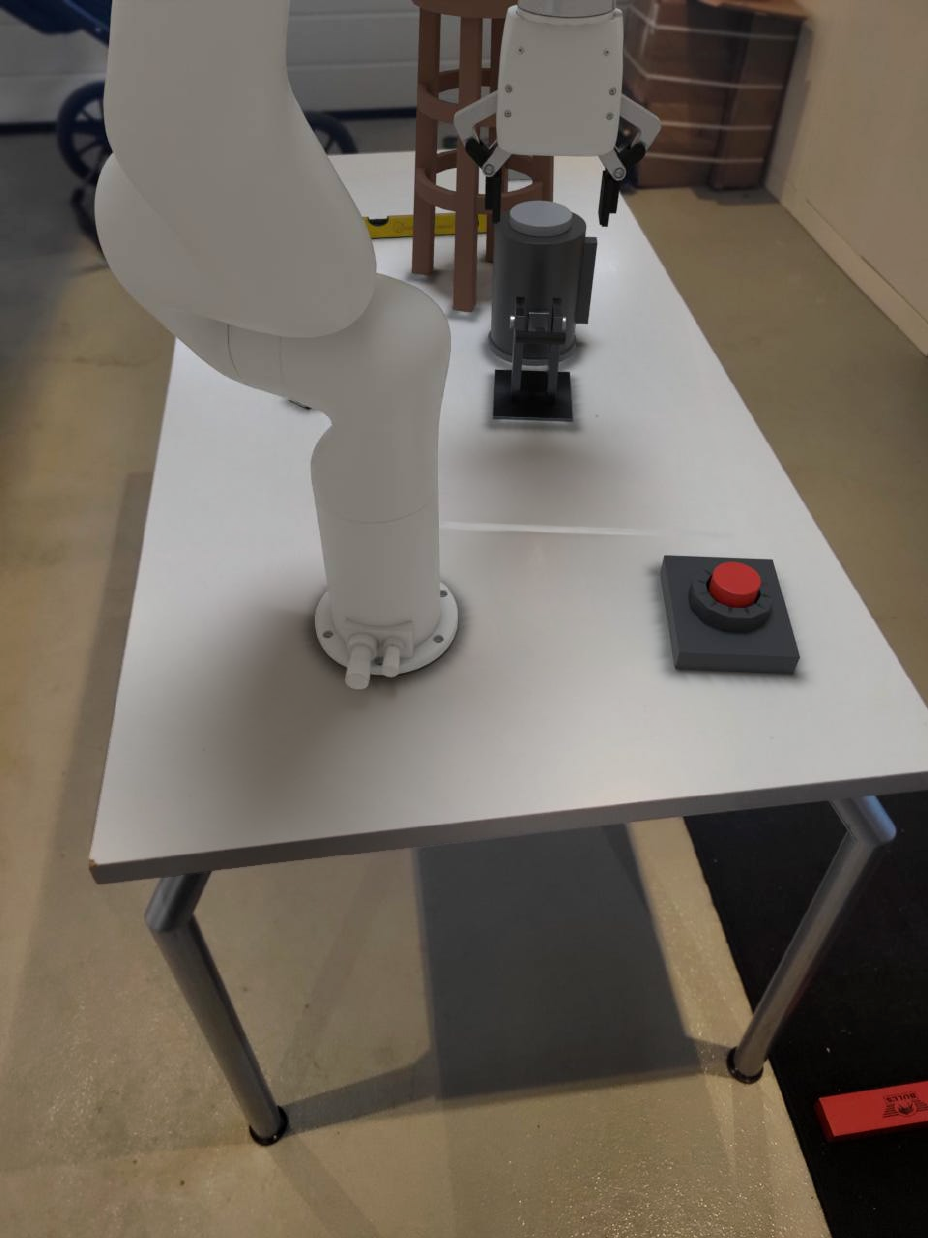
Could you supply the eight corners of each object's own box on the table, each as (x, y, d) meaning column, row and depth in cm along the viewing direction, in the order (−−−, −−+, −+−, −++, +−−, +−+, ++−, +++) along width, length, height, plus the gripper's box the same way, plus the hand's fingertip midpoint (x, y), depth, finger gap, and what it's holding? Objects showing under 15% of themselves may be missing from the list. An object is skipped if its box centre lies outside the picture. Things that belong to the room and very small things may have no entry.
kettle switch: (565, 352, 88) (567, 326, 86) (514, 350, 88) (516, 325, 87) (559, 332, 97) (561, 309, 96) (514, 330, 97) (515, 308, 96)
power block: (793, 674, 75) (806, 642, 72) (674, 669, 75) (683, 637, 72) (766, 576, 83) (778, 544, 80) (660, 571, 83) (667, 540, 80)
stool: (430, -45, 106) (591, -33, 102) (434, 245, 131) (563, 263, 128) (374, -8, 93) (557, 7, 89) (391, 307, 118) (534, 328, 115)
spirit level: (488, 229, 135) (488, 209, 133) (489, 233, 134) (489, 213, 132) (267, 240, 132) (264, 219, 130) (267, 244, 131) (264, 223, 129)
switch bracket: (572, 428, 99) (583, 331, 91) (492, 425, 100) (495, 328, 91) (569, 380, 106) (579, 286, 98) (494, 377, 106) (497, 283, 98)
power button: (759, 609, 75) (764, 594, 74) (712, 607, 75) (716, 593, 74) (751, 576, 78) (756, 562, 76) (705, 575, 78) (710, 560, 77)
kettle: (586, 374, 107) (603, 235, 95) (486, 370, 107) (490, 232, 95) (581, 321, 116) (596, 188, 104) (489, 318, 116) (493, 185, 104)
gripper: (675, -18, 70) (641, 205, 82) (456, -23, 70) (456, 199, 83) (687, 5, 64) (649, 239, 77) (450, 0, 65) (451, 234, 77)
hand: (549, 219), depth 80 cm, fingers open, 9 cm apart
